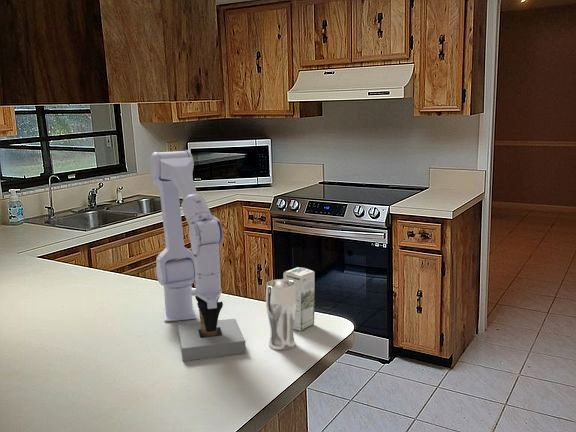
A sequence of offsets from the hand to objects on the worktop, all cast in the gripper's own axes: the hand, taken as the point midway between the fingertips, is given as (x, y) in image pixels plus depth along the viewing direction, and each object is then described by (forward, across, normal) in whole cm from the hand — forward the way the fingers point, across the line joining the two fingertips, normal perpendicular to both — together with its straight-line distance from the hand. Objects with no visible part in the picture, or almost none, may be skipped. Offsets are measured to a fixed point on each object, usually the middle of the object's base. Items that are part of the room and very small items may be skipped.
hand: (210, 327), depth 128 cm
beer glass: (+4, +5, +16) cm, 17 cm away
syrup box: (+4, -5, +23) cm, 24 cm away
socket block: (+4, 0, 0) cm, 4 cm away
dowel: (+3, 0, 0) cm, 3 cm away
